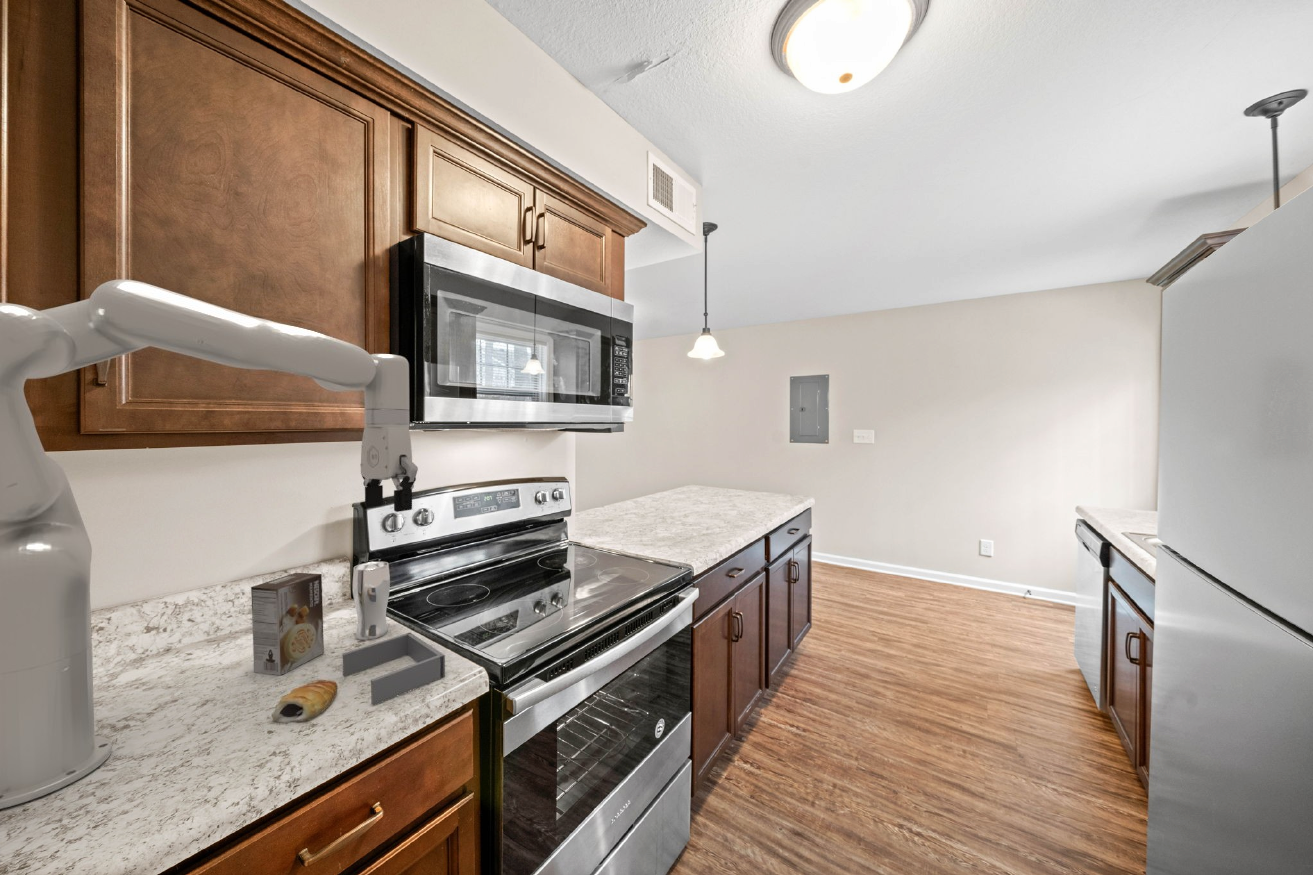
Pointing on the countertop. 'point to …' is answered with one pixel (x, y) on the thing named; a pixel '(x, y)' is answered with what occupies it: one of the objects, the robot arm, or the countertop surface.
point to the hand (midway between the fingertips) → (388, 508)
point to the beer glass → (371, 598)
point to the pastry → (305, 702)
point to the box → (402, 679)
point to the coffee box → (287, 622)
